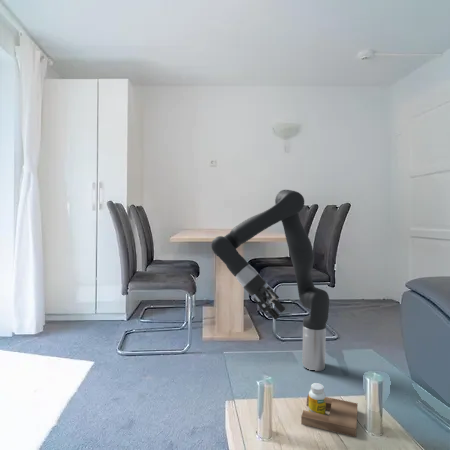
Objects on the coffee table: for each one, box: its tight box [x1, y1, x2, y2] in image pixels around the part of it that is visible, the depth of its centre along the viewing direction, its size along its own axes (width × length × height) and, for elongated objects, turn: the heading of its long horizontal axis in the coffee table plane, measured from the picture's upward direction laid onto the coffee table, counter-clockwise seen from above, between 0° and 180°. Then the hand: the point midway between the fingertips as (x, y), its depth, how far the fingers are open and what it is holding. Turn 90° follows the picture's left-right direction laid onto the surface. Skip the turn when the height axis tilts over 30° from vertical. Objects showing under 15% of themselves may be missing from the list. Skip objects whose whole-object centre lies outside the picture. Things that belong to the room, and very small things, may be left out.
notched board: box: [300, 393, 359, 438], centre depth 115 cm, size 14×16×2 cm
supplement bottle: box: [308, 382, 327, 415], centre depth 116 cm, size 5×5×10 cm
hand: (280, 314), depth 128 cm, fingers open, 8 cm apart
